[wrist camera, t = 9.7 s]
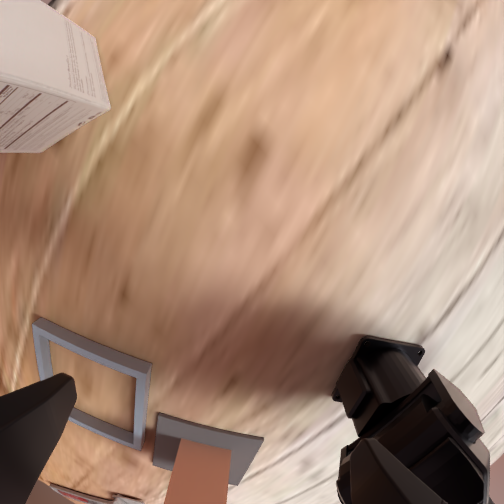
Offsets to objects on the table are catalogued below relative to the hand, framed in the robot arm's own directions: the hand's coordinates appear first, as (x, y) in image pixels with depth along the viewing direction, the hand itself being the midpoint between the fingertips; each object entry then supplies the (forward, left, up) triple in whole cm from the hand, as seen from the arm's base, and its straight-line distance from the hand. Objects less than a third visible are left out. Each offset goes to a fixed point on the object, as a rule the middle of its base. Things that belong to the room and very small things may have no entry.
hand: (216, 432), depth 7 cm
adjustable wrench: (+12, +47, -14) cm, 50 cm away
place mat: (-1, +20, -13) cm, 24 cm away
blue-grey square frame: (+11, +15, -13) cm, 23 cm away
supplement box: (+17, -10, -13) cm, 24 cm away
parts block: (-1, +20, -13) cm, 24 cm away
